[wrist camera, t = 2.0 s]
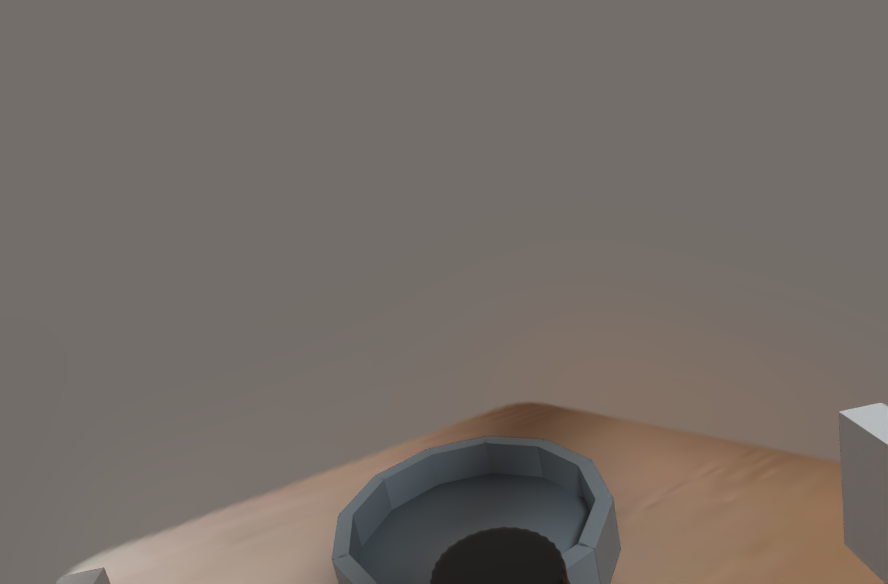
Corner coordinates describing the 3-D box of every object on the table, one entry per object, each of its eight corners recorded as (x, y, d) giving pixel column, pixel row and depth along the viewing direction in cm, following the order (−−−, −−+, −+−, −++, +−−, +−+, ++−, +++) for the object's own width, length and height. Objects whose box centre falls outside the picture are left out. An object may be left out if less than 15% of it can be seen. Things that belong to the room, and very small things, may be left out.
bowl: (639, 489, 46) (633, 443, 45) (573, 698, 31) (562, 638, 30) (424, 470, 54) (415, 432, 53) (293, 630, 39) (277, 581, 38)
